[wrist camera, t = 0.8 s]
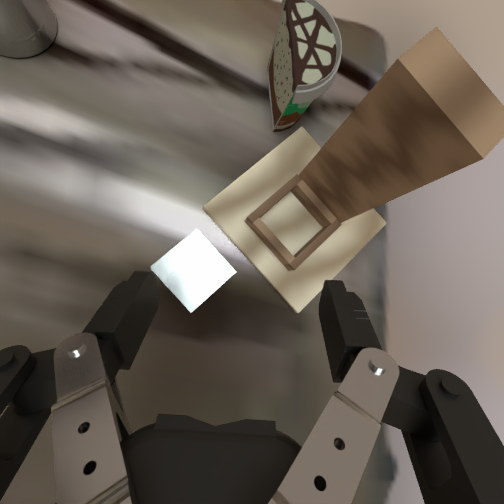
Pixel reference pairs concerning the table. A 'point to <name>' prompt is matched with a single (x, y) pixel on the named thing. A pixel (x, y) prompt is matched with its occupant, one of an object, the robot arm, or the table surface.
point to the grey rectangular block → (193, 270)
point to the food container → (301, 60)
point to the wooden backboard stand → (358, 169)
